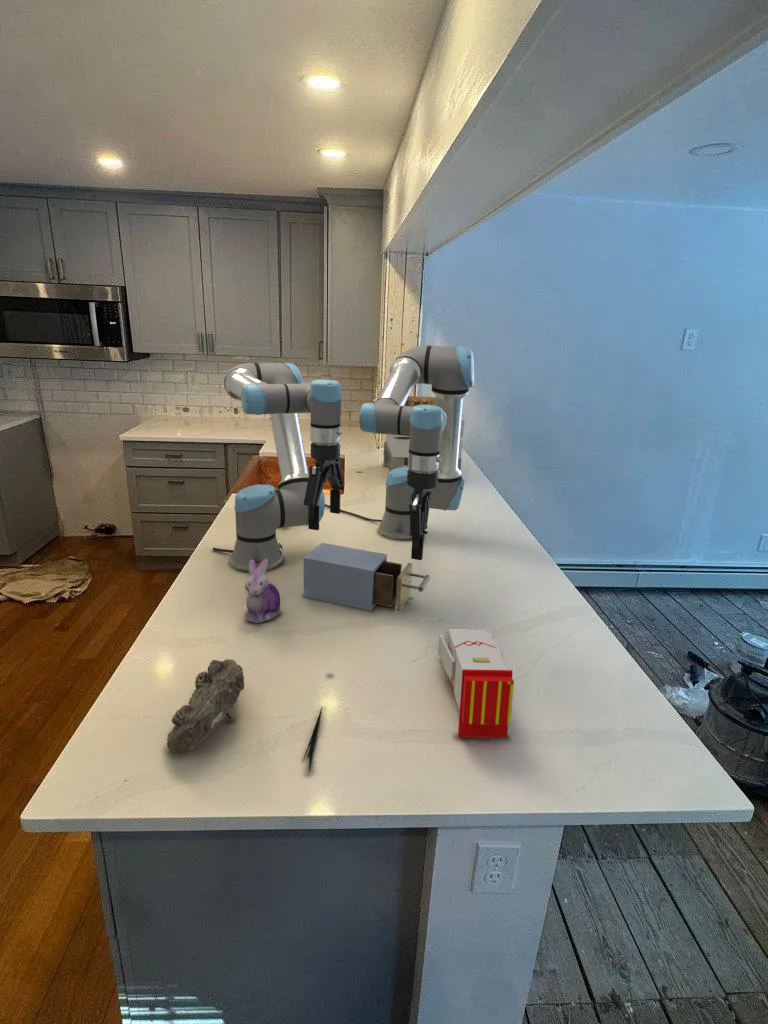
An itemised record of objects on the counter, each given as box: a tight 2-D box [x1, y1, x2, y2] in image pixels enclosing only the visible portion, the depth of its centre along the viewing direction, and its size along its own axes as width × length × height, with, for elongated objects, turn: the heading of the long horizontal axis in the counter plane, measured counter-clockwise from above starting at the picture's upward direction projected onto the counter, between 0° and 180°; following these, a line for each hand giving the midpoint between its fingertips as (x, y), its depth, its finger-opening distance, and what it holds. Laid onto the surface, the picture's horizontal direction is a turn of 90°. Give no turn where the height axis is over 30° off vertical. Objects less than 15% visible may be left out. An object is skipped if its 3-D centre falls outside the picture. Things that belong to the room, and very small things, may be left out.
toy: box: [437, 628, 515, 738], centre depth 117 cm, size 12×13×30 cm
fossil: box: [166, 658, 245, 754], centre depth 106 cm, size 22×10×15 cm
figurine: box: [244, 559, 282, 624], centre depth 141 cm, size 9×10×15 cm
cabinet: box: [303, 542, 388, 611], centre depth 154 cm, size 20×11×12 cm, turn 71°
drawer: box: [373, 560, 432, 613], centre depth 151 cm, size 24×10×10 cm, turn 71°
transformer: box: [383, 395, 465, 472], centre depth 268 cm, size 34×33×41 cm
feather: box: [301, 673, 332, 771], centre depth 108 cm, size 2×28×2 cm
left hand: (324, 520), depth 151 cm, fingers open, 13 cm apart
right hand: (416, 558), depth 146 cm, fingers closed
